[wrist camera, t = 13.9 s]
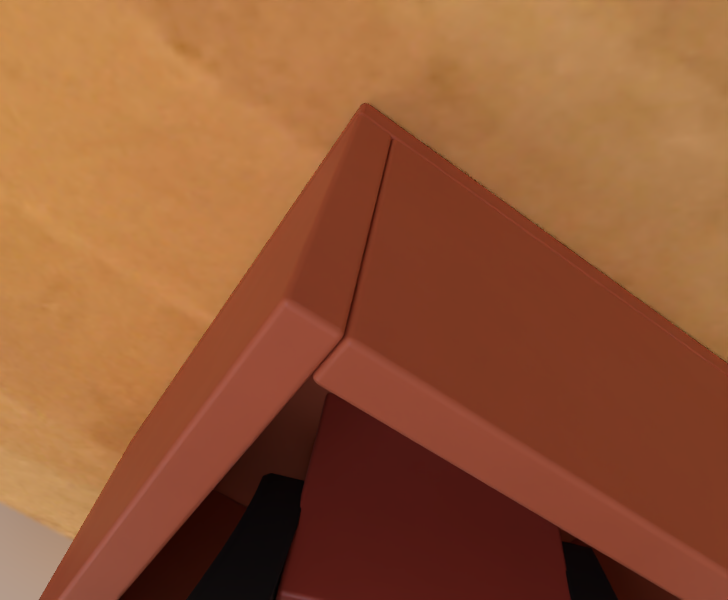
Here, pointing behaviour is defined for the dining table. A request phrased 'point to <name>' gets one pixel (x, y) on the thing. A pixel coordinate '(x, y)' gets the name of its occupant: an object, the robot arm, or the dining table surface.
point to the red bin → (427, 384)
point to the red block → (410, 525)
